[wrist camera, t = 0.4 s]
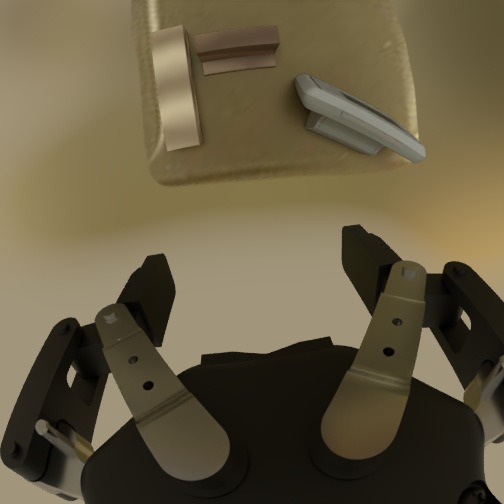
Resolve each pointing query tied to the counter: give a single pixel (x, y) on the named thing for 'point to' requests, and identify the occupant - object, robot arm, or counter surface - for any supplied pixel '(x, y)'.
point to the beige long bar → (176, 88)
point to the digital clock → (354, 121)
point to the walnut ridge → (237, 49)
